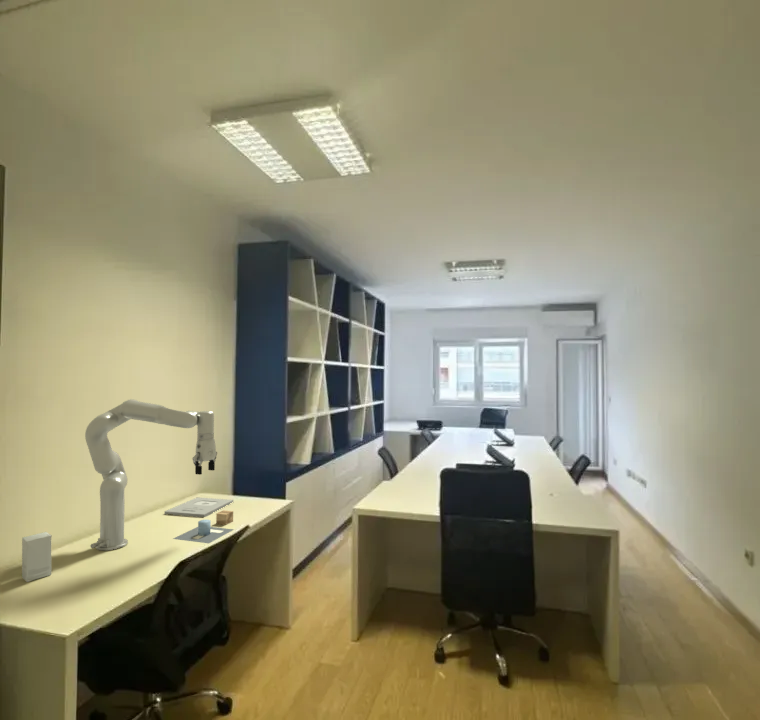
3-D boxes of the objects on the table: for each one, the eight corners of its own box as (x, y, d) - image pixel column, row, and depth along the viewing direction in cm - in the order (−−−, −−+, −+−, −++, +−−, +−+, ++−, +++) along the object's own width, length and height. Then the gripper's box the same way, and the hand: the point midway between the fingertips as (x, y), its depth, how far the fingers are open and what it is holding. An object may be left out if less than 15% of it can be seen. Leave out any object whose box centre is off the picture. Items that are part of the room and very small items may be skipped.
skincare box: (46, 570, 187) (47, 531, 187) (52, 575, 183) (52, 534, 183) (20, 577, 180) (21, 536, 181) (25, 582, 176) (26, 540, 176)
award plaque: (164, 515, 261) (164, 511, 261) (197, 500, 290) (197, 497, 290) (204, 518, 255) (204, 514, 255) (233, 503, 285) (233, 499, 285)
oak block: (226, 526, 241) (226, 514, 242) (216, 525, 243) (216, 513, 243) (233, 522, 247) (233, 511, 247) (223, 521, 249) (223, 510, 249)
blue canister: (205, 536, 224) (205, 523, 224) (195, 535, 226) (195, 522, 226) (212, 532, 230) (213, 520, 230) (203, 531, 231) (203, 519, 231)
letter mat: (208, 544, 215) (208, 543, 215) (172, 540, 221) (172, 538, 221) (234, 530, 235) (234, 529, 235) (200, 526, 240) (200, 525, 240)
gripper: (200, 439, 220) (200, 476, 219) (223, 434, 236) (222, 469, 236) (187, 438, 222) (186, 475, 221) (210, 434, 238) (209, 468, 238)
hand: (205, 472), depth 229 cm, fingers open, 9 cm apart
